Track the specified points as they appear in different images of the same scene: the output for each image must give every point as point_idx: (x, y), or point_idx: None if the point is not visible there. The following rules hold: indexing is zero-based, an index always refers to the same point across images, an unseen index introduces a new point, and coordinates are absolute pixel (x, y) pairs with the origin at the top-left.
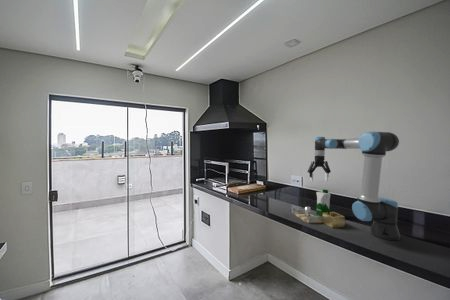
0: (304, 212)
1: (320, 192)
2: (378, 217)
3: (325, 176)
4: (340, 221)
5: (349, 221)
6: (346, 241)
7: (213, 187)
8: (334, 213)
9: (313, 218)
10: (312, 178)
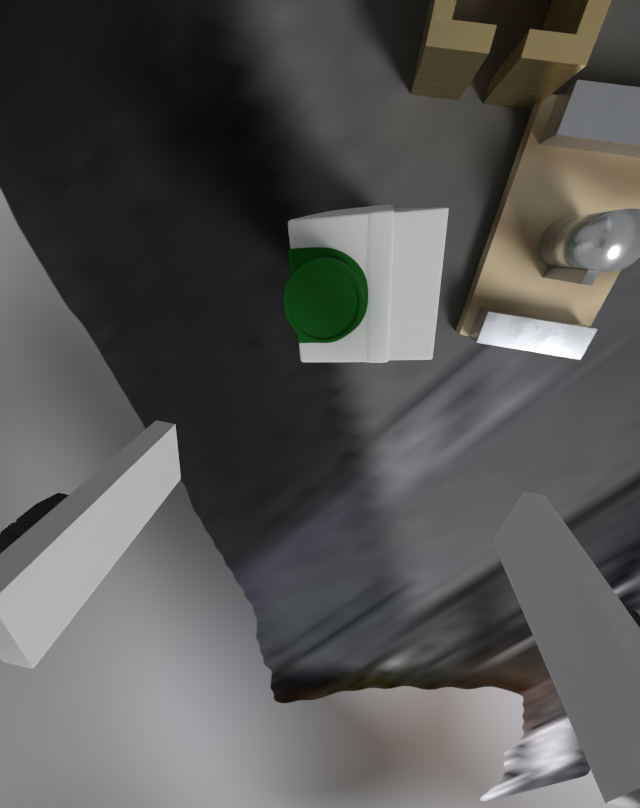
0: (517, 313)
1: (388, 327)
2: None
3: (115, 537)
4: None
5: (279, 43)
6: None
7: (545, 772)
8: (450, 18)
9: None
10: (583, 555)
